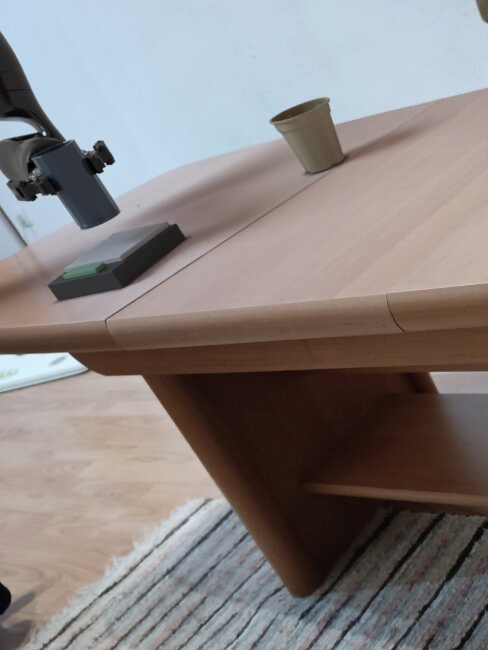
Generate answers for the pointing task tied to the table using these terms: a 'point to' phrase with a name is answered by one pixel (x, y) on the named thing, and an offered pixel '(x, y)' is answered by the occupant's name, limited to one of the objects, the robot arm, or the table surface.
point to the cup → (77, 184)
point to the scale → (116, 260)
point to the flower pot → (310, 134)
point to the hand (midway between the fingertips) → (73, 175)
